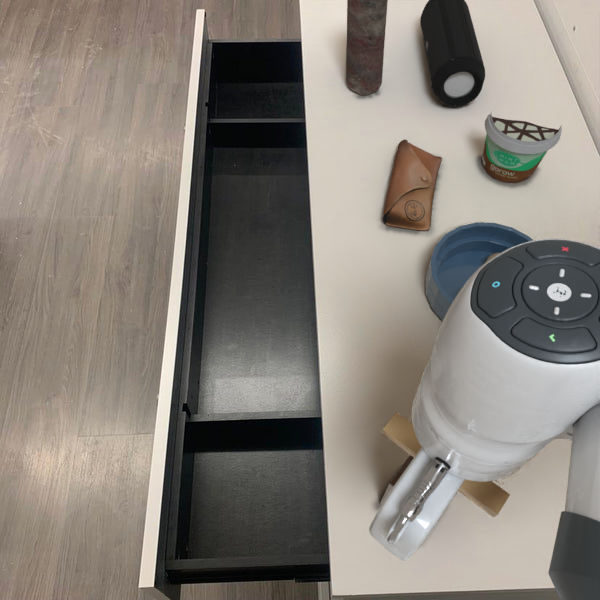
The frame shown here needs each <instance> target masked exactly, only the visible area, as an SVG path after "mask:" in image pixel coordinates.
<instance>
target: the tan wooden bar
mask: <svg viewBox="0 0 600 600" xmlns="http://www.w3.org/2000/svg"><path fill="white" fill-rule="evenodd" d="M381 434H382V435H383V436H385V438H387V439H388V440H390V441H391V442H392V443H394V444H395V445H397V446H398V447H399V448H400V449H402V450H403V451H405V452H406V453H407V454H408V455H411V456H413V457H415V456H416V454H417V453H418V451H419V450H420V449H421V445H420V443H419V441H418V439H417V437H416V434H415V432H414V428H413V423H412V421H410V420H408V419H407V418H405V417H404V416H403V415H402V414H401V413H398V412H397V411H396V412H394V414H393V415H392V417H391V418H390V419H389V421H388V422H387V423H386V424H385V426H384V427H383V428H382V432H381ZM458 492H459V493H460V494H461V495H463V496H464V497H466V498H467V499H468V500H470V502H472V503H473V504H474V505H476V506H478V507H479V508H480V509H482V511H484V512H485V513H487V514H488V515H489V516H491V517H492V518H495V517H497V516H498V515H499V514H500V512H501V510H502V509H503V507H504V506H505V504H506V502H507V501H508V500H509V497H510V496H511V494H510V493H508V492H507V491H506V490H505V489H503V488H502V487H500V486H499V485H498V484H497V483H495V481H487V482H479V481H471V480H466V479H465V481H464V482H463V484H462V485H461V487H460V488H459V490H458Z"/></svg>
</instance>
